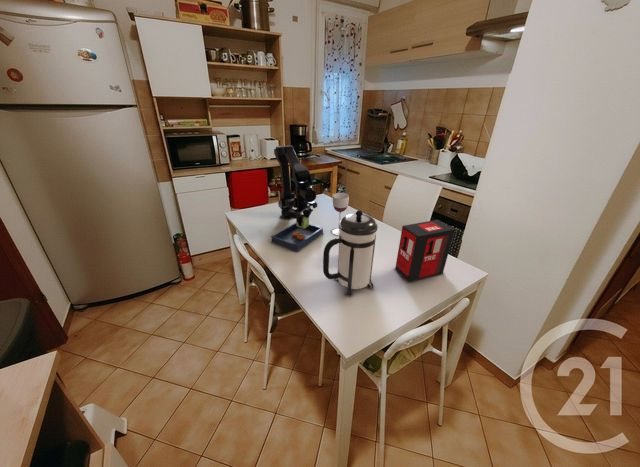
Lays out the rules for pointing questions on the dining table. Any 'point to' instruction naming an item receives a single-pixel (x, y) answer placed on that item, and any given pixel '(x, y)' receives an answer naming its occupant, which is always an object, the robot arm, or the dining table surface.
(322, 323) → the dining table surface
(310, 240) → the tray
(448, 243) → the cleaning product box
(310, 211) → the robot arm
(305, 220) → the sponge
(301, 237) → the orange round disc
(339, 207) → the wineglass
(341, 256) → the coffee press
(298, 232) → the orange flat cylinder
